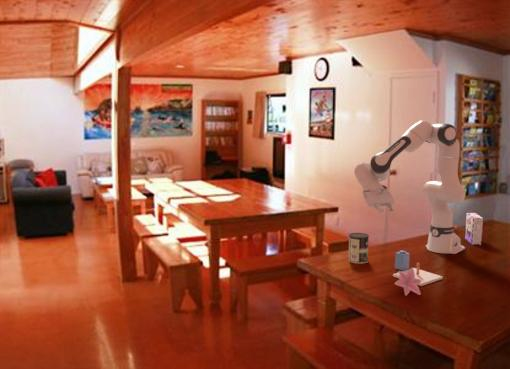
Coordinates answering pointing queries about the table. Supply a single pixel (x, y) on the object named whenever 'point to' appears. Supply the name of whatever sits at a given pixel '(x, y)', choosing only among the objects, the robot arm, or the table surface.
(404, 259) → the blue domed block
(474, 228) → the candy box
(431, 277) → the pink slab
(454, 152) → the robot arm
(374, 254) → the table surface
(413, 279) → the lily
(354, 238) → the coffee can
